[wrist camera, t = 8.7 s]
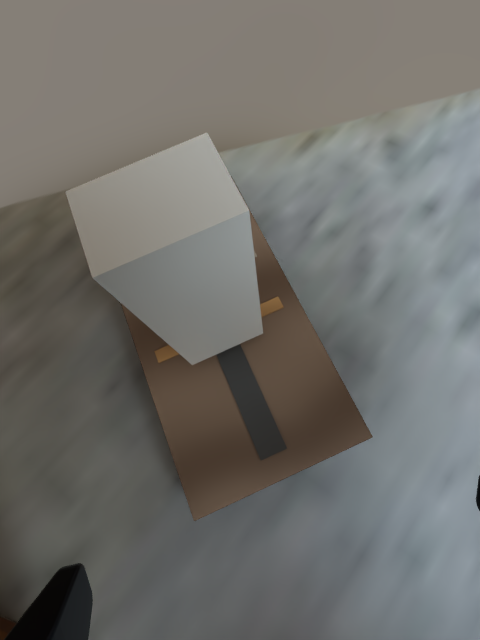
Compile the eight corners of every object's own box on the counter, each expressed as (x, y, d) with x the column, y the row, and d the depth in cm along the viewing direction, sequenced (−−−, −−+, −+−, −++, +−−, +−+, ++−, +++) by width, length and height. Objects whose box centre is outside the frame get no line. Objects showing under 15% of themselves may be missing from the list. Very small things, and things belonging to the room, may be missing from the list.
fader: (263, 333, 16) (249, 210, 7) (192, 365, 15) (92, 277, 7) (242, 289, 16) (207, 132, 8) (174, 319, 16) (65, 191, 8)
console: (358, 437, 17) (373, 437, 14) (205, 508, 16) (193, 521, 14) (235, 204, 22) (230, 174, 19) (116, 255, 21) (96, 231, 19)
